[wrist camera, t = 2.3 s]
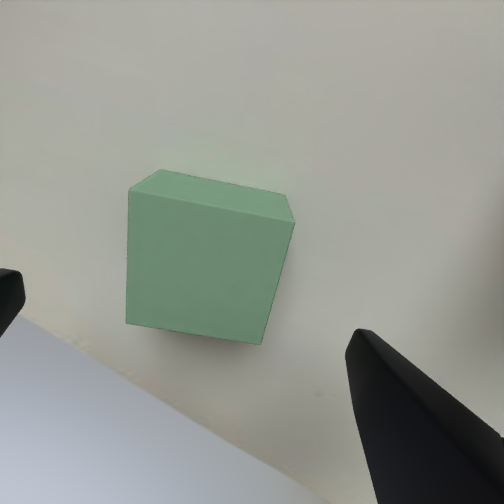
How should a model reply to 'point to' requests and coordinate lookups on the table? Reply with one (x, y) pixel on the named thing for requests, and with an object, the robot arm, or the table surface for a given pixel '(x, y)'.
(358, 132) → the table surface
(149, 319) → the green block
